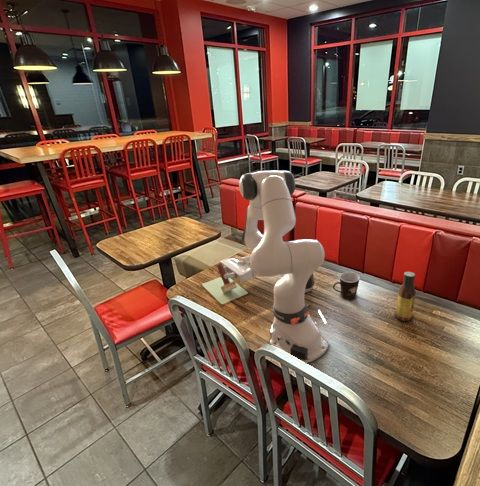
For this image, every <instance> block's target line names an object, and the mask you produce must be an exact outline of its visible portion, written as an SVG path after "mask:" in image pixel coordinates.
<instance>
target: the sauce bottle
mask: <svg viewBox="0 0 480 486" xmlns="http://www.w3.org/2000/svg"><path fill="white" fill-rule="evenodd" d="M415 279H416V274H415V272H412V271H405V272H404V273H403V281H402V284H401V285H400V287H399V289H398V294H397V301H396V309H395V317H396V318H397V319H398V320H400V321H402V322H409V321H411V320H412V318H413V314H414V310H415V309H414V308H415V302H416V294H417V291H416V288H415Z"/></svg>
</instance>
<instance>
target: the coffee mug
mask: <svg viewBox="0 0 480 486" xmlns="http://www.w3.org/2000/svg"><path fill="white" fill-rule="evenodd" d="M360 278H361V277H360V275H359V274H357V273H356V272H352V271H345V272H342V273H340V274H339V281H337V282H334V284H333V286H332V288H333V289H334V291H335V292H338V293H340V297H341V298H342V299H344V300H345V301H353V300H356V298H357V293H358V288H359V283H360V280H361V279H360ZM336 285H340V290H338V289H336V288H335V287H336Z"/></svg>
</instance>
